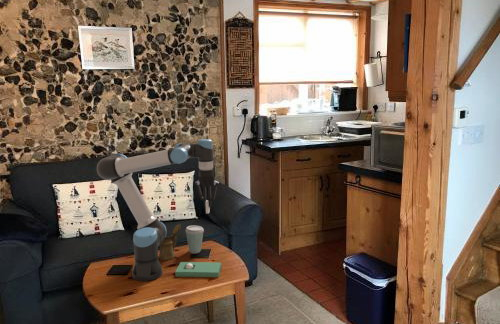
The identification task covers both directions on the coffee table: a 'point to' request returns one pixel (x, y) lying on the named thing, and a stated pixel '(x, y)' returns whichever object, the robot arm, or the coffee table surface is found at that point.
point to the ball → (189, 266)
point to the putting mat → (199, 269)
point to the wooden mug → (169, 245)
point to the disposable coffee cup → (194, 238)
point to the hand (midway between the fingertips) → (207, 212)
